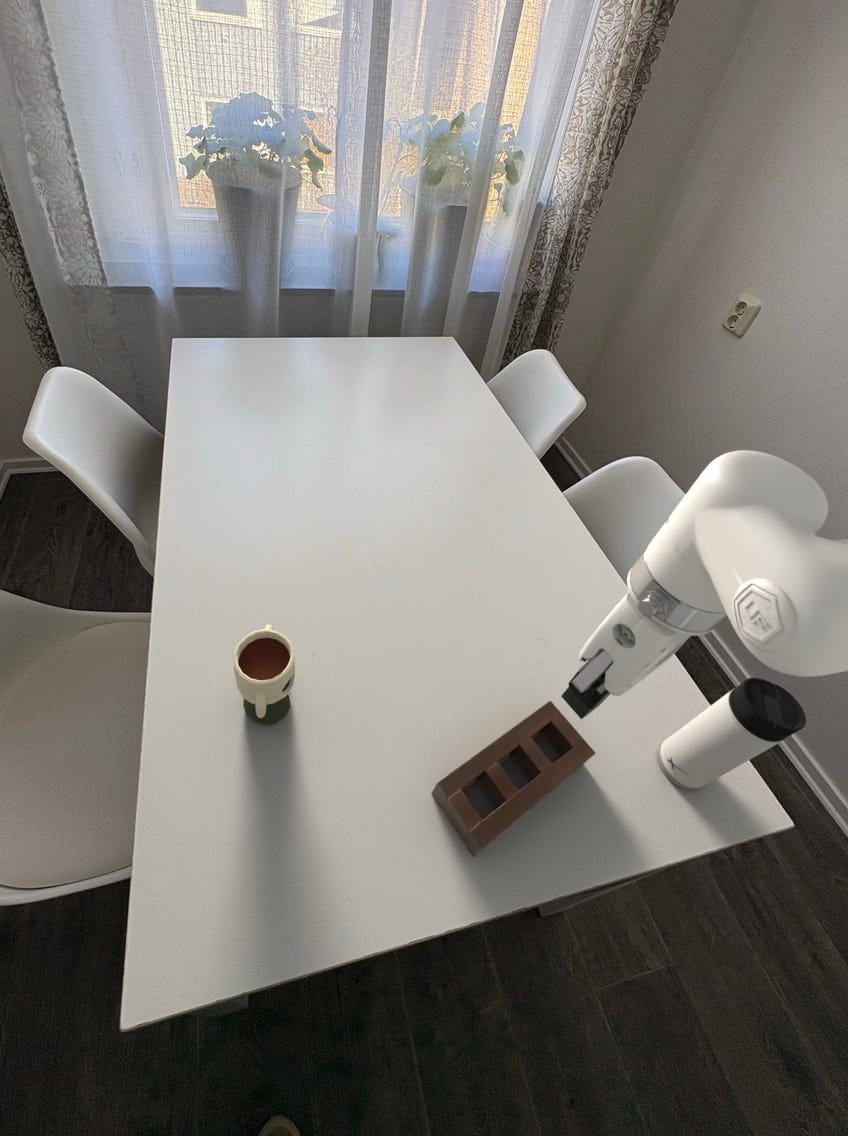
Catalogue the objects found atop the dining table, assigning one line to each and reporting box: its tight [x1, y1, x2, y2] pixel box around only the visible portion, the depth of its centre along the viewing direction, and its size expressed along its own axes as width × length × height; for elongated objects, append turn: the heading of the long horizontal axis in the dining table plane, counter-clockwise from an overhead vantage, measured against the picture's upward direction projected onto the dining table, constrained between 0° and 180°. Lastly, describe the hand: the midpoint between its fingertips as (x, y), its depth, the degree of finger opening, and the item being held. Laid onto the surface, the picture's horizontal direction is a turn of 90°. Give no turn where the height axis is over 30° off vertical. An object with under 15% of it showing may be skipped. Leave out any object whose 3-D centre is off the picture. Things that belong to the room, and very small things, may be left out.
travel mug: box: [656, 677, 807, 791], centre depth 63 cm, size 6×7×20 cm
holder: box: [431, 700, 596, 857], centre depth 66 cm, size 8×19×4 cm, turn 123°
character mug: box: [232, 623, 296, 725], centre depth 66 cm, size 11×7×13 cm, turn 2°
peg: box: [560, 674, 611, 720], centre depth 56 cm, size 3×3×9 cm
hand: (592, 686), depth 56 cm, fingers closed on peg, 3 cm apart
